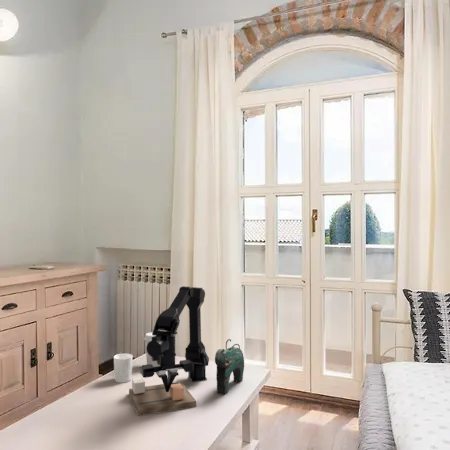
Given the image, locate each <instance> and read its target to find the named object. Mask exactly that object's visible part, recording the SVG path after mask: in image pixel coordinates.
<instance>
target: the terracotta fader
mask: <svg viewBox="0 0 450 450" xmlns="http://www.w3.org/2000/svg"><path fill="white" fill-rule="evenodd" d="M170 397H171V398H172V400H173V401H175V400H181V399H184V388H183V386H182V385H181V384H180V383H179V384H172V385H171V387H170Z"/></svg>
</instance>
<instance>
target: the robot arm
mask: <svg viewBox="0 0 450 450" xmlns="http://www.w3.org/2000/svg"><path fill="white" fill-rule="evenodd" d="M205 297H206V292H205V289H203V287H196V286H195V287H194V286H180V287H179V289H178V292H177V295H176V296H175V298H174V299H173V300H172V302H171V303H170V305H169V306H168V308H167V309H165V310H163V311H162V312H161V313H160V314H159V315H158V317H157V318H156V320H155V324H154V326H153V330H152V332H153V333H152V335H156V336H153V337H152V341H150V342H149V343H148V344H147V348H146V347H145V350H146V349H147V352H148V354H149V355H150V356H151V357H152V361H157V363H158V365H159V366H157V367H153V366H152V364H148V365H147V364H142V365H141V366H140V374H141V376H142V377H143V379H144V378H151V377H154V375H155V374H156V375H157V377H158V378H159V379H161V381H162V384H164V387H165V390H166V392H169V390H170V387H171V385H172V383H174V382H175V379H176V377H177V376H179V375H180V374H179V372H178V371H179V370H183V371H184V372H185V373H188V374H187V375H188V376H187V377H188V379H190V381H191V382H192V383H193V382H199V381H207V379H208V378H207V377H206V372H207V371H206V367H207V366H209V362H210V358H209V356H208V354H207V351H206V347H205V345H204V343H203V341H202V327H201V326H202V324H201V323H202V318H201V317H202V316H201V312H202V311H201V308H202V305H203V304H204V302H205ZM185 306H186V307H187V308H188V315H189V317H188V318H189V320H188V321H189V326H188V327H189V343H188V345H187V347H185V353H184V357H185V359H183V360H179V363H176V356H177V353H176V335H178V332H177V330H178V328H179V326H180V321H181V320H180V316H181V314H182V312H183V310H184V309H185ZM166 372H167V373H166Z"/></svg>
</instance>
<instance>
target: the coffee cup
mask: <svg viewBox="0 0 450 450" xmlns="http://www.w3.org/2000/svg"><path fill="white" fill-rule="evenodd" d="M152 333H153V331H150V332H146V334H145V336H144V338H143V340H144V344H145V355H146V365H148V364H152V366H153V367H157V366H159V365H158V363H157V361H152V357H151V356H150V355H149V354H148V352H147V349H146V348H147V344H148V343H149V342H150V341H152V337H153V336H156V335H152Z"/></svg>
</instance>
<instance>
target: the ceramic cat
mask: <svg viewBox="0 0 450 450" xmlns="http://www.w3.org/2000/svg"><path fill="white" fill-rule="evenodd" d="M229 341H230V342H232V339H230V338H228V339H227V340H226V342H225V348H220V349H217V351H216V353H215V354H214V364H216V377H215V378H216V393H217V394H219V395H225V396H226V394H227V393H228V392H229V385H230V379H231V375H233V382H237V383H241V382H242V381H243V379H244V370H245V358H244V357H245V356H244V353H243V350H242V349H241V345H240V344H239V343H235V344H233V345H232V346H229V347H228V342H229ZM235 346H238V347H235ZM227 347H228V348H227Z"/></svg>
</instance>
